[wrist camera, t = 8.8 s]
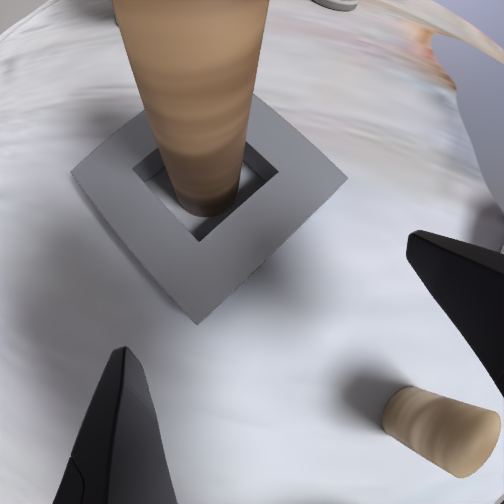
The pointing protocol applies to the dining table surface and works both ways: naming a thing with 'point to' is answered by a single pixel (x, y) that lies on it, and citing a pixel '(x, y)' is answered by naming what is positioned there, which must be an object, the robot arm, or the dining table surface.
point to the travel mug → (339, 4)
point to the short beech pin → (442, 429)
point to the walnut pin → (196, 88)
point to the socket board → (229, 230)
